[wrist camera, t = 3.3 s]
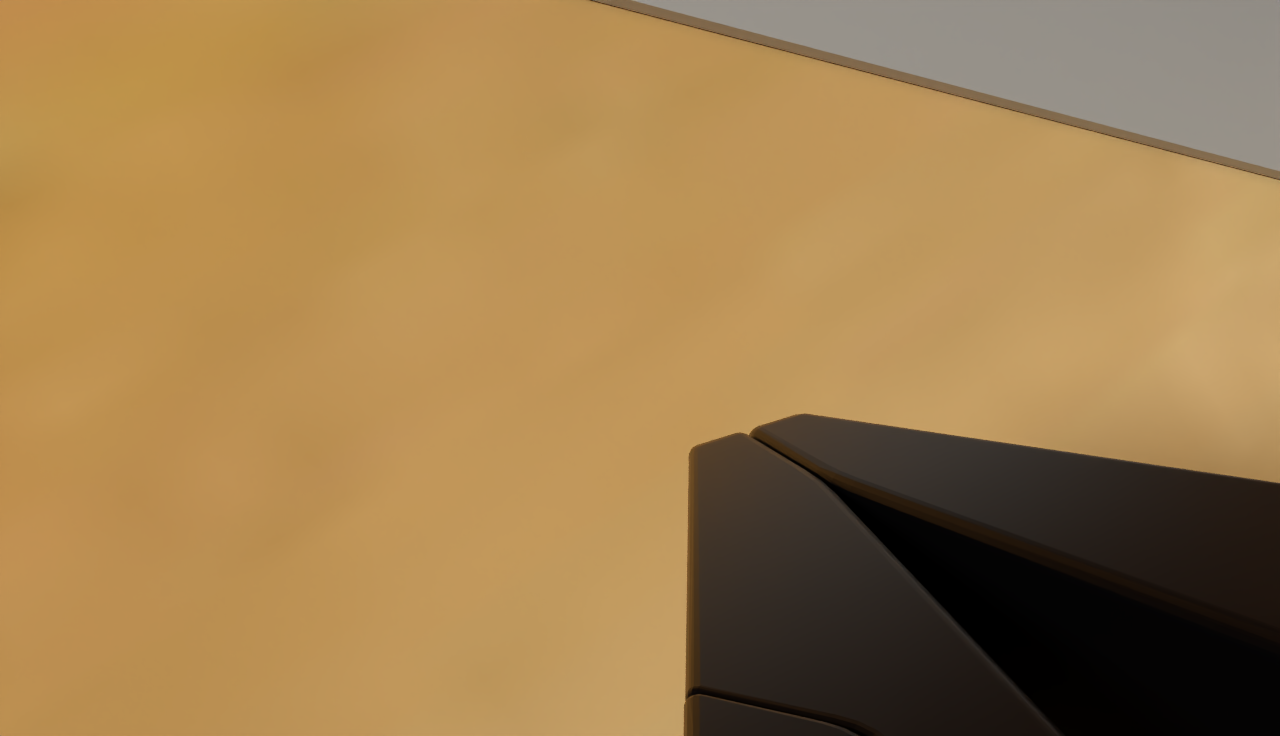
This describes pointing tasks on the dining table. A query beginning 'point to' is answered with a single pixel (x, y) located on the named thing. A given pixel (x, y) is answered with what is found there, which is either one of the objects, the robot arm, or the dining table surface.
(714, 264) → the dining table surface
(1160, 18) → the card
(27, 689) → the dining table surface
